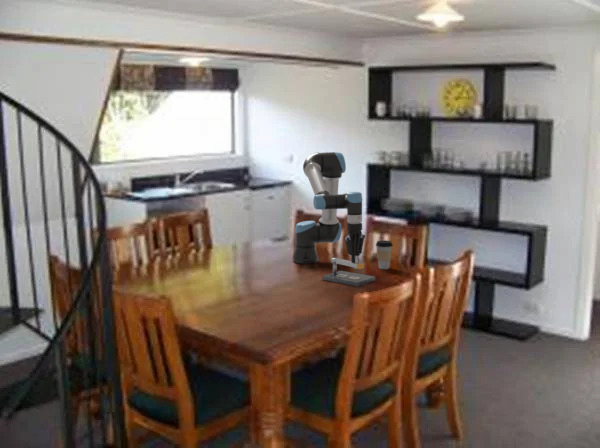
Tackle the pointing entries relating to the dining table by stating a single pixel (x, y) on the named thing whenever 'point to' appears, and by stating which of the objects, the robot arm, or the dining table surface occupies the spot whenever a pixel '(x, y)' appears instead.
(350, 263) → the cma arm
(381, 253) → the coffee cup
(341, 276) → the chassis
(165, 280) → the dining table surface
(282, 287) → the dining table surface
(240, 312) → the dining table surface
